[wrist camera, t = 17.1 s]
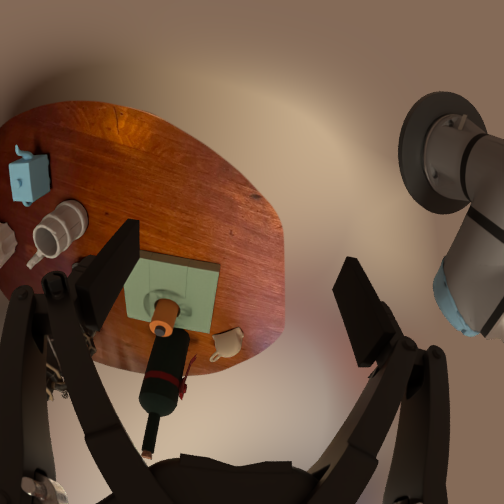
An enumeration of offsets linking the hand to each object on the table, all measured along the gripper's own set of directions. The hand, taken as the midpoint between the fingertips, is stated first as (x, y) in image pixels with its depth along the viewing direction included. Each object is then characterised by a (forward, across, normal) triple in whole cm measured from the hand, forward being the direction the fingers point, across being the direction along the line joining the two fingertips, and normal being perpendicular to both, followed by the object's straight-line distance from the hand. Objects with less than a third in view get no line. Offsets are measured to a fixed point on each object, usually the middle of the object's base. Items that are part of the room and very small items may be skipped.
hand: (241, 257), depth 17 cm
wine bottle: (+27, -8, -41) cm, 49 cm away
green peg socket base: (+26, -10, -27) cm, 39 cm away
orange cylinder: (+26, -10, -30) cm, 41 cm away
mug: (+27, -32, -16) cm, 45 cm away
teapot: (+27, -39, -4) cm, 48 cm away
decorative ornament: (+27, +3, -38) cm, 46 cm away
